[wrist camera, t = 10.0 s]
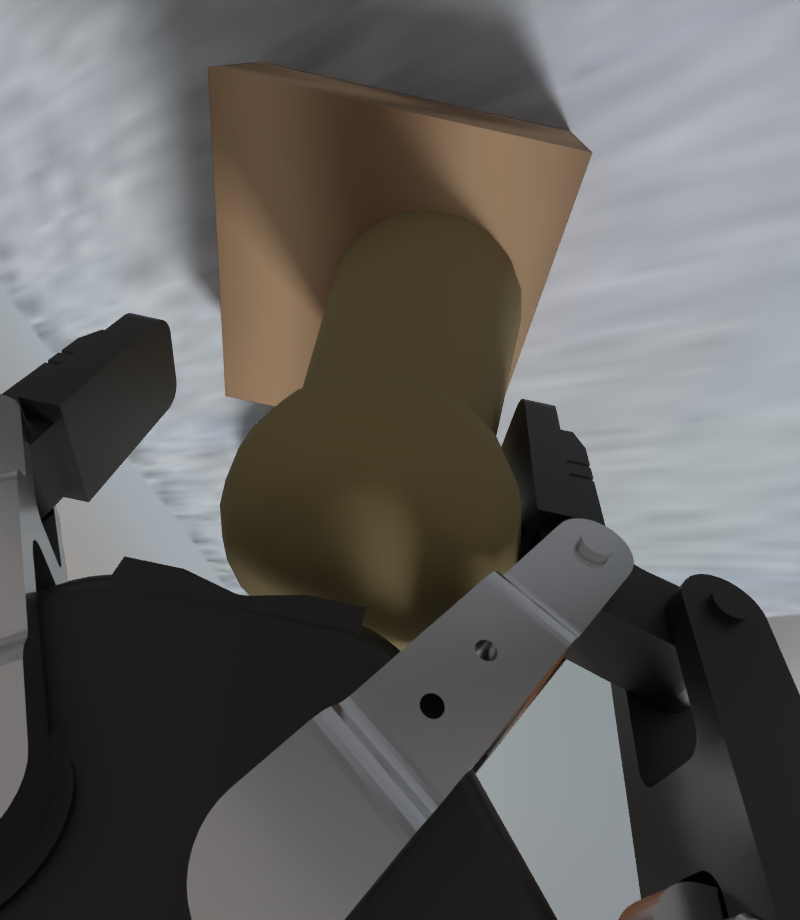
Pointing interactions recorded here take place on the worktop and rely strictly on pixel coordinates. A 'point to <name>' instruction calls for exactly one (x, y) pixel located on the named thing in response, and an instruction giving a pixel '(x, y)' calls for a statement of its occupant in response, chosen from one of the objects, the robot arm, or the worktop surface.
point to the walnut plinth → (359, 200)
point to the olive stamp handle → (389, 435)
